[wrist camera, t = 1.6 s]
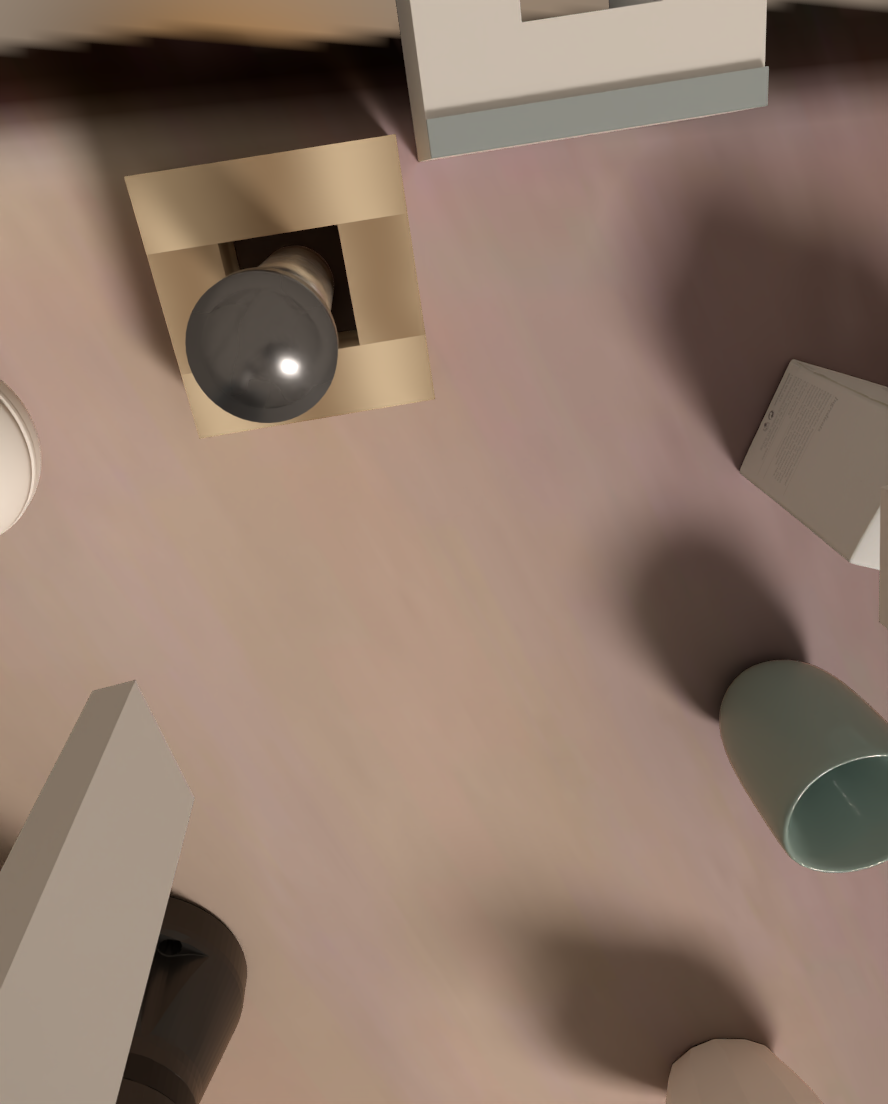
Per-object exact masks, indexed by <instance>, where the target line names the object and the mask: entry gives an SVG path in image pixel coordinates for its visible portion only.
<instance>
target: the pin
mask: <svg viewBox="0 0 888 1104" xmlns="http://www.w3.org/2000/svg"><path fill="white" fill-rule="evenodd" d="M333 294H334V278H333V274H332V271H331V269H330V267H329V265H328V263H327V262H326V261H325V259H324V258H323V257H322V256H321V255H320V254H318V253H317V252H316V251H314V250H312V249H310V248H308V247H305V246H300V245H290V246H285V247H282V248H280V249H278V250H276V251H275V252H274V253H272V254H271V255H270V256H269V257H268V258H267V259H266V260H265V261H264V262H263V263H261V264H260V265H259V266H258V267H254V268H247V269H243V270H239V271H236V272H234V273H231V274H229V275H228V276H226V277H224V278H222V279H221V280H220V281H218V282H217V283H216V284H214V285H213V286H212V287H211V288H209V289H208V290H207V291H206V292H205V293H204V294H203V295H202V296H201V298H200V299H199V300H198V302H197V303H196V305H195V307H194V308H193V310H192V312H191V315H190V318H189V321H188V324H187V329H186V338H185V346H186V355H187V359H188V364H189V366H190V369H191V372H192V374H193V376H194V378H195V380H196V382H197V383H198V385H199V386H200V388H201V389H202V391H203V392H204V393H205V394H206V395H207V397H208V398H209V399H210V400H212V401H213V402H214V403H215V404H216V405H217V406H219V407H220V408H221V409H223V410H224V411H226V412H228V413H230V414H231V415H234V416H236V417H238V418H241V419H244V420H248V421H251V422H258V423H276V422H282V421H287V420H290V419H293V418H295V417H298V416H300V415H302V414H303V413H305V412H307V411H308V410H310V409H311V408H312V407H314V406H315V405H316V404H317V403H318V402H319V401H320V400H321V398H322V397H323V396H324V395H325V393H326V392H327V390H328V388H329V387H330V385H331V382H332V380H333V378H334V374H335V371H336V366H337V359H338V334H337V328H336V325H335V321H334V319H333V316H332V314H331V306H332V300H333Z"/></svg>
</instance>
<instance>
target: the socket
mask: <svg viewBox="0 0 888 1104" xmlns="http://www.w3.org/2000/svg"><path fill="white" fill-rule="evenodd" d="M396 6H397V13H398V20H399V28H400V35H401V42H402V49H403V56H404V63H405V70H406V78H407V85H408V92H409V99H410V106H411V113H412V120H413V127H414V135H415V142H416V149H417V156H418V162H423V161H429V160H436V159H442V158H448V157H455V156H461V155H467V154H474V153H480V152H486V151H493V150H499V149H505V148H512V147H518V146H524V145H531V144H537V143H543V142H550V141H556V140H562V139H569V138H575V137H581V136H588V135H594V134H601V133H607V132H613V131H620V130H626V129H632V128H639V127H645V126H651V125H658V124H664V123H670V122H677V121H683V120H689V119H696V118H701V117H707V116H713V115H718V114H724V113H729V112H735V111H740V110H746V109H752V108H757V107H763V106H768V75H769V66H767V67H765V41H766V8H767V0H609V9H605V10H599V11H592V12H586V13H579V14H573V15H566V16H560V17H553V18H546V19H540V20H533V21H527V22H522V18H521V6H520V0H396Z"/></svg>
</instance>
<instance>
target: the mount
mask: <svg viewBox="0 0 888 1104" xmlns="http://www.w3.org/2000/svg"><path fill="white" fill-rule="evenodd" d="M124 179H125V182H126V186H127V189H128V192H129V196H130V199H131V203H132V206H133V210H134V213H135V217H136V220H137V224H138V227H139V231H140V234H141V238H142V241H143V245H144V248H145V251H146V255H147V258H148V262H149V265H150V269H151V272H152V276H153V279H154V283H155V286H156V290H157V293H158V297H159V300H160V303H161V307H162V310H163V314H164V317H165V321H166V324H167V328H168V331H169V335H170V338H171V342H172V345H173V349H174V352H175V355H176V359H177V362H178V366H179V369H180V373H181V376H182V380H183V383H184V387H185V390H186V394H187V397H188V401H189V404H190V408H191V411H192V414H193V418H194V421H195V425H196V428H197V432H198V435H199V439H200V438H206V437H212V436H218V435H224V434H230V433H236V432H242V431H248V430H254V429H260V428H266V427H272V426H278V425H284V424H290V423H296V422H302V421H308V420H314V419H320V418H326V417H332V416H338V415H343V414H349V413H355V412H361V411H367V410H373V409H379V408H385V407H391V406H397V405H403V404H409V403H415V402H421V401H427V400H433V399H435V395H434V389H433V382H432V375H431V369H430V362H429V355H428V349H427V342H426V335H425V329H424V322H423V315H422V308H421V302H420V295H419V288H418V282H417V275H416V268H415V262H414V255H413V248H412V242H411V235H410V228H409V221H408V215H407V208H406V201H405V195H404V188H403V181H402V175H401V168H400V161H399V155H398V148H397V141H396V134H394V135H387V136H381V137H374V138H368V139H362V140H355V141H349V142H342V143H336V144H330V145H323V146H317V147H311V148H304V149H298V150H291V151H285V152H279V153H272V154H266V155H259V156H253V157H247V158H240V159H234V160H227V161H221V162H215V163H208V164H202V165H195V166H189V167H183V168H176V169H170V170H163V171H157V172H151V173H144V174H138V175H131V176H125V177H124ZM330 225H338V230H339V236H340V241H341V246H342V252H343V257H344V262H345V268H346V273H347V279H348V284H349V289H350V295H351V300H352V305H353V311H354V316H355V322H356V327H357V329H355V330H349V331H343V332H337V334H338V359H337V366H336V371H335V374H334V378H333V380H332V382H331V385H330V387H329V388H328V390H327V392H326V393H325V395H324V396H323V397H322V398H321V400H320V401H319V402H318V403H317V404H316V405H315V406H314V407H312V408H311V409H310V410H308V411H307V412H305V413H303V414H302V415H300V416H298V417H295V418H293V419H290V420H287V421H282V422H276V423H258V422H251V421H248V420H244V419H241V418H238V417H236V416H234V415H231V414H230V413H228V412H226V411H224V410H223V409H221V408H220V407H219V406H217V405H216V404H215V403H214V402H213V401H212V400H210V399H209V398H208V397H207V395H206V394H205V393H204V392H203V391H202V389H201V388H200V386H199V385H198V383H197V382H196V380H195V378H194V376H193V374H192V372H191V369H190V366H189V364H188V359H187V355H186V346H185V338H186V329H187V324H188V321H189V318H190V315H191V312H192V310H193V308H194V307H195V305H196V303H197V302H198V300H199V299H200V298H201V296H202V295H203V294H204V293H205V292H206V291H207V290H208V289H209V288H211V287H212V286H213V285H214V284H216V283H217V282H218V281H220V280H221V279H222V278H224V277H226V276H228V275H229V274H231V273H234V272H236V271H239V270H240V268H239V264H238V260H237V256H236V252H235V247H234V243H233V241H237V240H243V239H249V238H255V237H262V236H268V235H274V234H280V233H287V232H293V231H299V230H305V229H312V228H318V227H324V226H330Z"/></svg>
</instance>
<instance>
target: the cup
mask: <svg viewBox="0 0 888 1104" xmlns="http://www.w3.org/2000/svg"><path fill="white" fill-rule="evenodd" d="M719 729H720V736H721V739H722V742H723V745H724V749H725V752H726V755H727V757H728V759H729V762H730V764H731V766H732V768H733V770H734V772H735V774H736V776H737V777H738V779H739V781H740V783H741V784H742V786H743V788H744V789H745V791H746V793H747V794H748V796H749V798H750V799H751V801H752V802H753V804H754V806H755V807H756V809H757V810H758V812H759V814H760V815H761V817H762V818H763V820H764V821H765V823H766V824H767V826H768V827H769V829H770V830H771V832H772V834H773V835H774V836H775V838H776V839H777V841H778V842H779V844H780V845H781V847H782V848H783V849H784V851H785V852H786V853H787V855H788V856H789V857H790V858H791V859H793V860H794V861H795V862H797V863H798V864H799V865H801V866H804V867H807V868H809V869H812V870H815V871H821V872H828V873H843V872H853V871H858V870H862V869H866V868H870V867H873V866H875V865H878V864H881V863H883V862H885V861H887V860H888V722H887V721H886V720H885V719H884V718H883V717H882V716H881V715H880V714H879V713H878V712H877V711H875V710H874V709H873V708H872V707H871V706H870V705H869V704H868V703H867V702H866V701H865V700H864V699H862V698H861V697H860V696H859V695H858V694H857V693H856V692H855V691H854V690H852V689H851V688H850V687H849V686H847V685H846V684H845V683H844V682H842V681H841V680H840V679H838V678H837V677H835V676H834V675H832V674H830V673H829V672H827V671H825V670H823V669H821V668H819V667H817V666H815V665H812V664H810V663H806V662H802V661H797V660H787V659H780V660H771V661H766V662H762V663H759V664H756V665H754V666H751V667H750V668H748V669H746V670H744V671H743V672H742V673H741V674H739V675H738V676H737V677H736V678H735V679H734V681H733V682H732V683H731V684H730V686H729V687H728V689H727V691H726V693H725V695H724V697H723V700H722V703H721V707H720V714H719Z"/></svg>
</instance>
